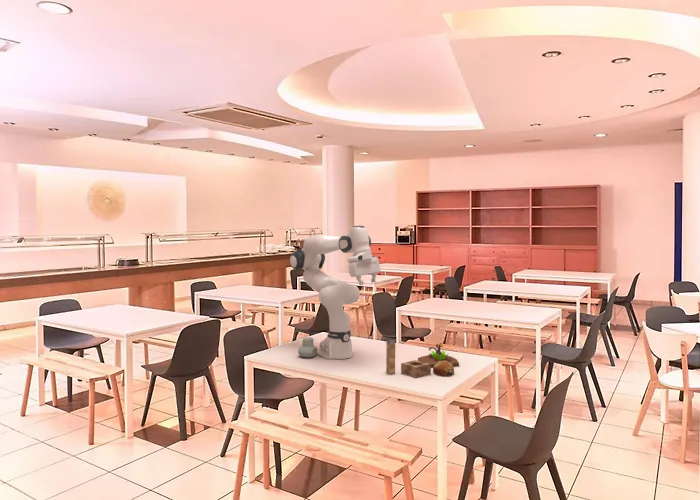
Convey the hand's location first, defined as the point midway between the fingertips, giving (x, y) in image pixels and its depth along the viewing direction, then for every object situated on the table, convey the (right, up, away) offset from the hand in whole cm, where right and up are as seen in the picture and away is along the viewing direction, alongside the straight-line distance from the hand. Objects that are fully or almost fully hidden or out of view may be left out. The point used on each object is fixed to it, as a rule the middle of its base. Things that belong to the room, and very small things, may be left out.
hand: (367, 283), depth 262 cm
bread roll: (+36, -43, -13) cm, 58 cm away
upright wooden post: (+11, -42, -13) cm, 46 cm away
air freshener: (-32, -41, +19) cm, 55 cm away
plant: (+37, -42, +6) cm, 57 cm away
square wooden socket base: (+23, -42, -14) cm, 50 cm away
